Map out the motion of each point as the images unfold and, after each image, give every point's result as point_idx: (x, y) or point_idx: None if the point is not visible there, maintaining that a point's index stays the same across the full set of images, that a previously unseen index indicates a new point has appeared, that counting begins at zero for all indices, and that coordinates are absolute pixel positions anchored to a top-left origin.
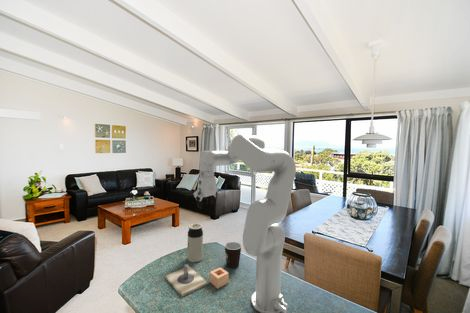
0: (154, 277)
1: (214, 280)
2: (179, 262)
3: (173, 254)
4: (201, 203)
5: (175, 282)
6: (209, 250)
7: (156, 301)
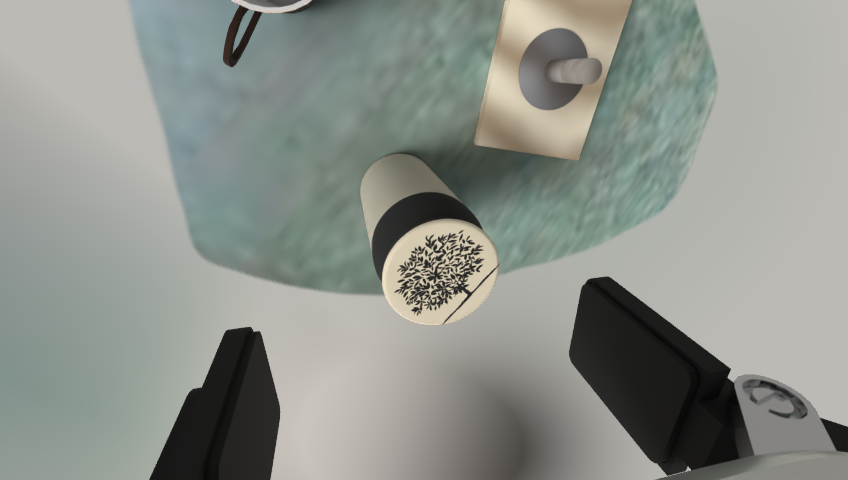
0: (588, 192)
1: None
2: None
3: None
4: (680, 331)
5: (593, 84)
6: (283, 204)
7: (677, 59)
